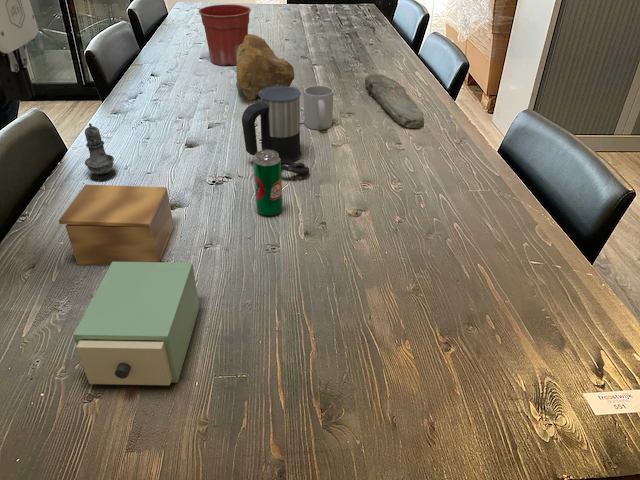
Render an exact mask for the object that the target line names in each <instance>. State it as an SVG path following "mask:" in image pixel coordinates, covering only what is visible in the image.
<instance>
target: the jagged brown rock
mask: <svg viewBox="0 0 640 480" xmlns="http://www.w3.org/2000/svg"><path fill="white" fill-rule="evenodd" d="M235 71H236V73H235V74H236V76H235V77H236V82H235V87H236V88H237V90H239V91H240V90H241V91H242V92H243V96H244V97H245V98H246V99H247V100H249V101H253V100H256V98H257V97H259V98H261V97H260V96H259V92H260V91H261V90H262V89H265V88H268V87H273V86H288V87H291V85H292V83H293V81H294V80H295V72H294V71H295V70H294V67H293V65H292V64H291V63H290V62H288V61H287V60H286V59H284V58H279V57H278V56H277V55H276V54H275V52H274V51H273V49H272V48H271V46H270V45H269V44H268V43H267V41H266V40H265V39H264V38H263V37H261V36H258V35H255V34H249V33H248V34H247V35H246V36H245V38H244V41H243V43H242V44H240V45H239V46H238V50H237V65H236V70H235Z"/></svg>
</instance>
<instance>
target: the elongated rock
mask: <svg viewBox="0 0 640 480" xmlns="http://www.w3.org/2000/svg"><path fill="white" fill-rule="evenodd" d="M364 86H365V87H366V88H367V89H368V91H369V92H370V97H373V98H374V99H375V100H376V101H377V102H378V103H379V104H380V105H381V106H382V108H383V109H384V111H386V112H387V113H388V114H389V115H390V116H391V118H392V119H393V120H394V121H395V122H397V124H400V125H401V126H403V127H404V128H409V129H419V128H421V127H423V125H424V122H425V118H424V112H423V111H422V110H421V109H420V108H419V107H418V105H417V104H416V103H415V101H413V99H412V98H411V96H410V95H409V94H408V93H407V91H406V88H405V86H403V85H401V84H399V82H397V81H396V80H395V79H392V78H390V77H388V76H387V75H385V74H382V73H381V74H380V73H370V74H369V75H366V76H365V78H364Z"/></svg>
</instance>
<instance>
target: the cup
mask: <svg viewBox="0 0 640 480" xmlns="http://www.w3.org/2000/svg"><path fill="white" fill-rule="evenodd" d="M303 102H304V103H303V105H304V106H303V110H304V111H303V112H304V115H303V118H304V119H303V120H304V126H305V127H306V128H307V129H310V130H313V131H324V130H328V129H329V128H331V127H332V125H333V119H334V115H333V113H334V90H333V88H331V87H330V86H326V85H312V86H308V87H306V88H304V89H303Z"/></svg>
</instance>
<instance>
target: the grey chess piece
mask: <svg viewBox="0 0 640 480" xmlns="http://www.w3.org/2000/svg"><path fill="white" fill-rule="evenodd" d="M84 135H85V140H86V144H85V147H86V148H87V149H88V152H89V157H88V158H86V159H85V160H84V165H85V166H86V167H87V169H88V171H90V172H91V174H89V175H90V176H89V179H90V180H91V181H93V182H100V183H101V182H107V181H110V180H112V179H114V178H115V177H116V176H117V172H116V171H115V170H114V169H113V167H114V161H115V158H114V156H113V155H111V154H107V153H106V151H105V146H104V145H105V142H104V141H103V140H102V136H101V132H100V129H99V128H98V127H96V126H94V125H93V124H92V123H91V122H89V123H88V127H86V128H85V129H84Z"/></svg>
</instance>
